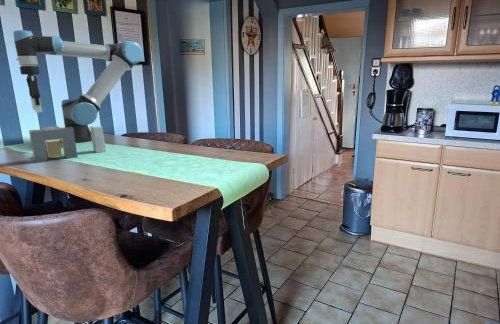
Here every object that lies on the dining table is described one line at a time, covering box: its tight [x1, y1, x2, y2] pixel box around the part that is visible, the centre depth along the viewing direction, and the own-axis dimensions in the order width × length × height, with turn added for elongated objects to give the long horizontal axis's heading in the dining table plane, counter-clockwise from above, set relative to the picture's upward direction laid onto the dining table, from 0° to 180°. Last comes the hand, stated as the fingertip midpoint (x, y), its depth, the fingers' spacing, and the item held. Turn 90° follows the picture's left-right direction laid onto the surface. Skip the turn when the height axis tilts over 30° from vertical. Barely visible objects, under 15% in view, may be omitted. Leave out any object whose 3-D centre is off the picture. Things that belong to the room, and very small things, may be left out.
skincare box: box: [89, 125, 107, 153], centre depth 161 cm, size 6×4×12 cm
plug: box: [44, 139, 63, 158], centre depth 157 cm, size 5×16×7 cm, turn 37°
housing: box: [28, 125, 78, 163], centre depth 146 cm, size 16×6×14 cm, turn 127°
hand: (37, 111), depth 163 cm, fingers open, 13 cm apart
